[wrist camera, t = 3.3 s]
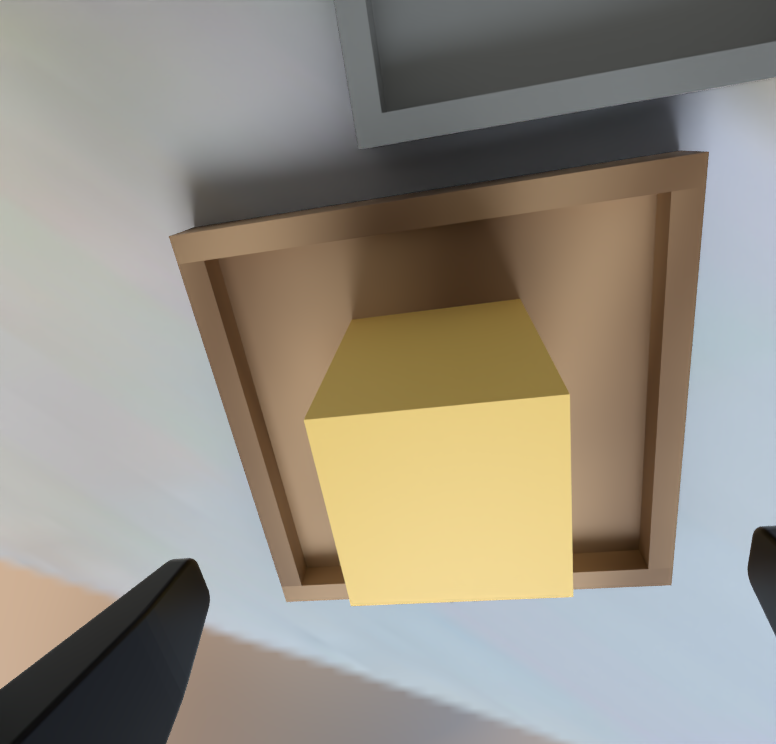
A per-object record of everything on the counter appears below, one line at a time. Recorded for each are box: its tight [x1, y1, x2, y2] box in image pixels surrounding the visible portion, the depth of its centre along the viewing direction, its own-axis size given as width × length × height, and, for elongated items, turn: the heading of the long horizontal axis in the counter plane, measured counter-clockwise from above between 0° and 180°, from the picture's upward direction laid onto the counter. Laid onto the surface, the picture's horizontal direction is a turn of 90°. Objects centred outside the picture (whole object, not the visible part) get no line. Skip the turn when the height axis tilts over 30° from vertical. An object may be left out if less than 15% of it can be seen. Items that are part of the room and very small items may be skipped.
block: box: [304, 299, 573, 606], centre depth 12 cm, size 4×4×6 cm
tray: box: [169, 151, 709, 602], centre depth 15 cm, size 12×12×1 cm
